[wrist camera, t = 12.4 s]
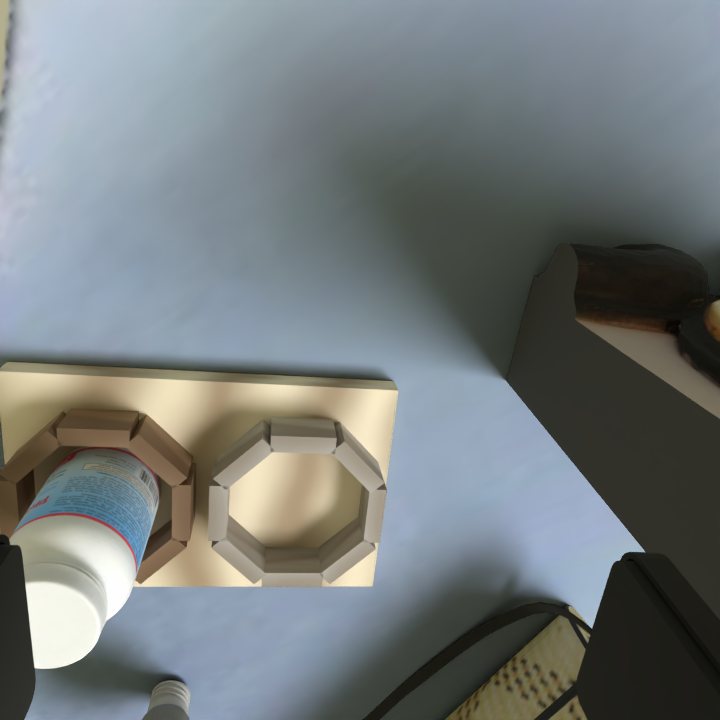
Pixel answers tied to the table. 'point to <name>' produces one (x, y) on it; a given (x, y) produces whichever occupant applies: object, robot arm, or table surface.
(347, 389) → the holder board
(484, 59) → the table surface
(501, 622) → the clutch purse
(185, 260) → the table surface
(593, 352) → the dark gray upright block
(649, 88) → the table surface
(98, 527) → the pill bottle
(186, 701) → the light bulb
